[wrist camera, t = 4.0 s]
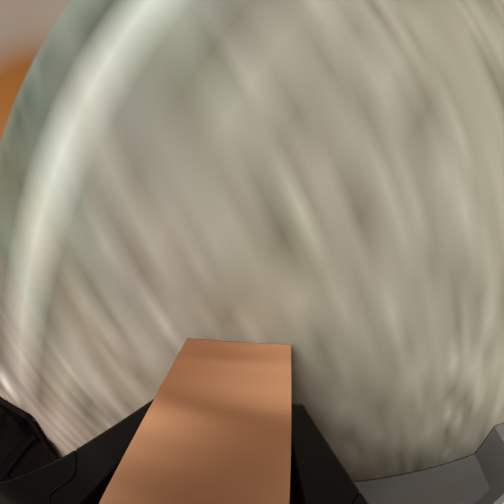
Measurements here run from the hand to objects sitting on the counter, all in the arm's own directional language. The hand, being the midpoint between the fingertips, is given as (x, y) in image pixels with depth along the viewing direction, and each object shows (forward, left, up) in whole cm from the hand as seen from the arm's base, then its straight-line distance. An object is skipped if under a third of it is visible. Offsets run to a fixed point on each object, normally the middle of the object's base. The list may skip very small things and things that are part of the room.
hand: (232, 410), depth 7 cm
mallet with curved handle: (0, -9, -1) cm, 9 cm away
